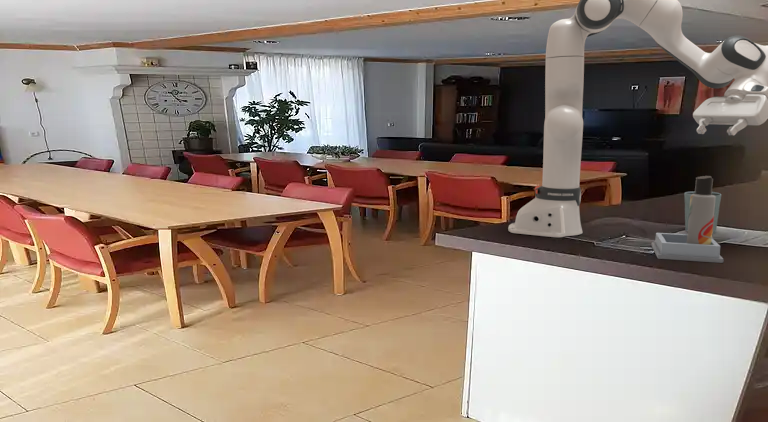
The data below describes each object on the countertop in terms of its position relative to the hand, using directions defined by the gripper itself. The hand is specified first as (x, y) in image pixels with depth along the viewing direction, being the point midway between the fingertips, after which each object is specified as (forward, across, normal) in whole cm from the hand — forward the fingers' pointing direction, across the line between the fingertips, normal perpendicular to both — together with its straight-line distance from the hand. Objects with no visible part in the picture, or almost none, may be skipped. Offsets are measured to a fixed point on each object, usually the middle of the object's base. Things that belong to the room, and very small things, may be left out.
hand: (714, 133), depth 163 cm
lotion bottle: (+30, +8, +13) cm, 34 cm away
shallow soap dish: (+31, +5, +13) cm, 34 cm away
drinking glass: (+11, -16, +34) cm, 39 cm away
